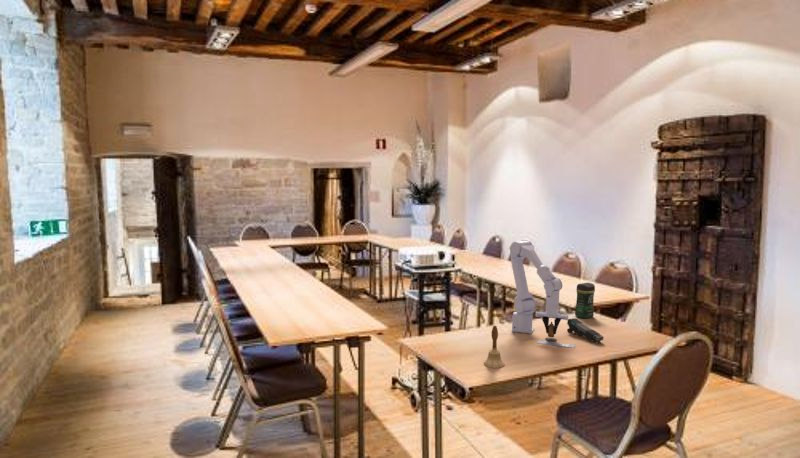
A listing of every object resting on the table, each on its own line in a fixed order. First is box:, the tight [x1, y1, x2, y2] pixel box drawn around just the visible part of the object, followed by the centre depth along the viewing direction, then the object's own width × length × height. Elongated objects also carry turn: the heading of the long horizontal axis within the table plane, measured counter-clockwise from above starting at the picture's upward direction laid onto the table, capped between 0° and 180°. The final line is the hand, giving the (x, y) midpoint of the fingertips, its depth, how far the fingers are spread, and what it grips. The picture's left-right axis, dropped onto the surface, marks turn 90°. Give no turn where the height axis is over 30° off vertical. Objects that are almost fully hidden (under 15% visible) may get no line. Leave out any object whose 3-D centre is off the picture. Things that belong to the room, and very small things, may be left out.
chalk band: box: [536, 340, 576, 349], centre depth 238 cm, size 16×4×1 cm, turn 66°
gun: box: [566, 317, 605, 344], centre depth 249 cm, size 4×20×10 cm, turn 23°
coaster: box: [545, 337, 558, 342], centre depth 244 cm, size 5×5×1 cm
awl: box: [547, 321, 555, 338], centre depth 244 cm, size 3×3×7 cm
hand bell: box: [483, 325, 505, 369], centre depth 211 cm, size 8×8×16 cm
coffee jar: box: [574, 282, 596, 319], centre depth 284 cm, size 10×8×19 cm
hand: (551, 333), depth 244 cm, fingers closed on awl, 3 cm apart
